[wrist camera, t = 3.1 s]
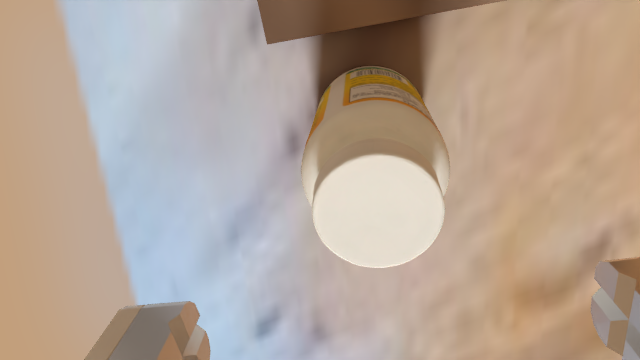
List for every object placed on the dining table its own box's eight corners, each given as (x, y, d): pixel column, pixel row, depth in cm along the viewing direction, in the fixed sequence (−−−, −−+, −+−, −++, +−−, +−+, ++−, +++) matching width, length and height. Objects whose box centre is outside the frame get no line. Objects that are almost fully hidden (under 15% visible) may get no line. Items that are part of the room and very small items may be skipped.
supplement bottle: (387, 41, 19) (413, 89, 11) (442, 132, 21) (504, 237, 12) (294, 104, 21) (254, 191, 12) (353, 184, 23) (353, 309, 14)
